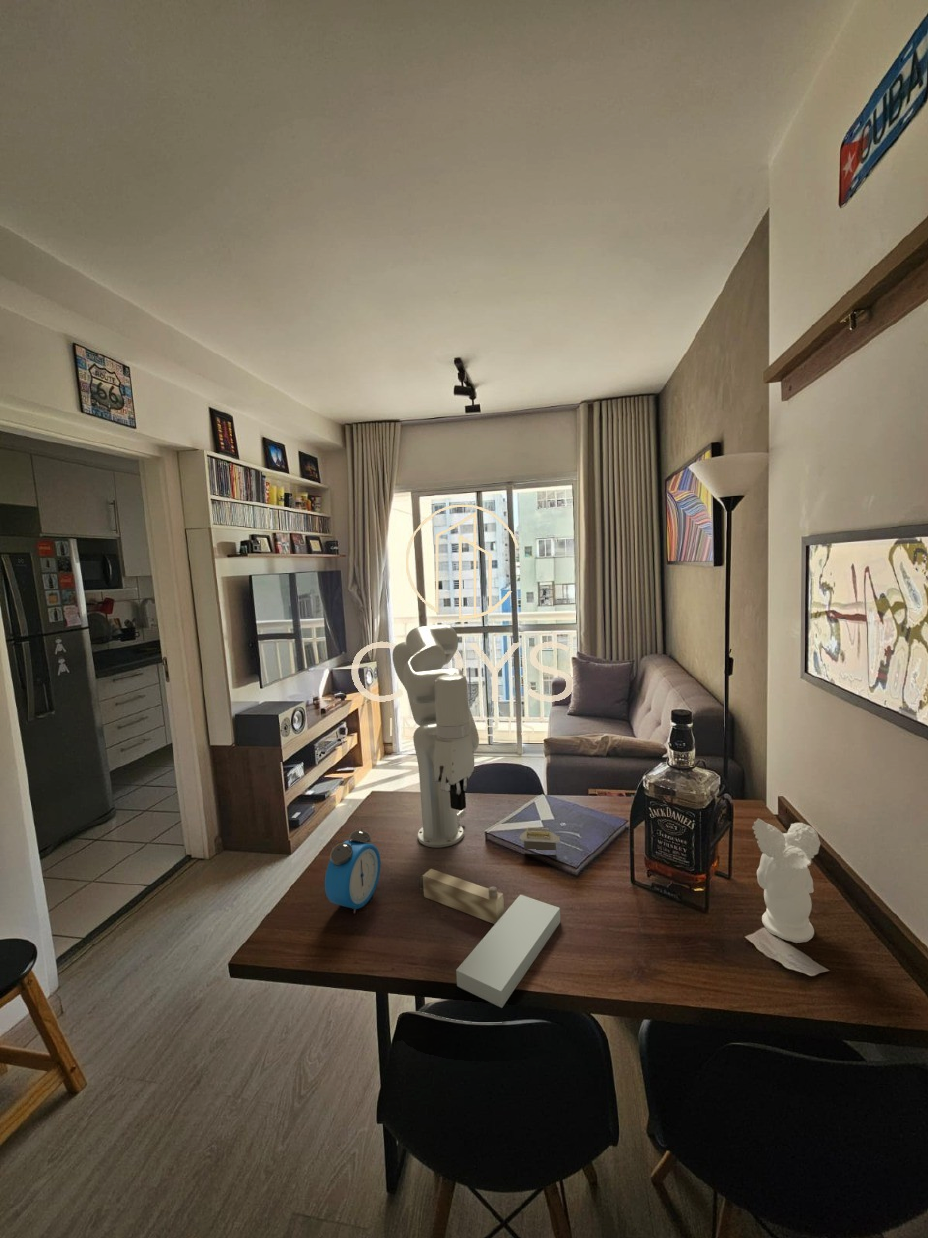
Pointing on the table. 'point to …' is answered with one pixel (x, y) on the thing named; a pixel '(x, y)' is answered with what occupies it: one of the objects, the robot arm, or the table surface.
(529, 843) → the platform
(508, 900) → the table surface
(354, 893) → the alarm clock
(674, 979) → the table surface
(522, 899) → the rail
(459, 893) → the hinged leg
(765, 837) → the cherub figurine
